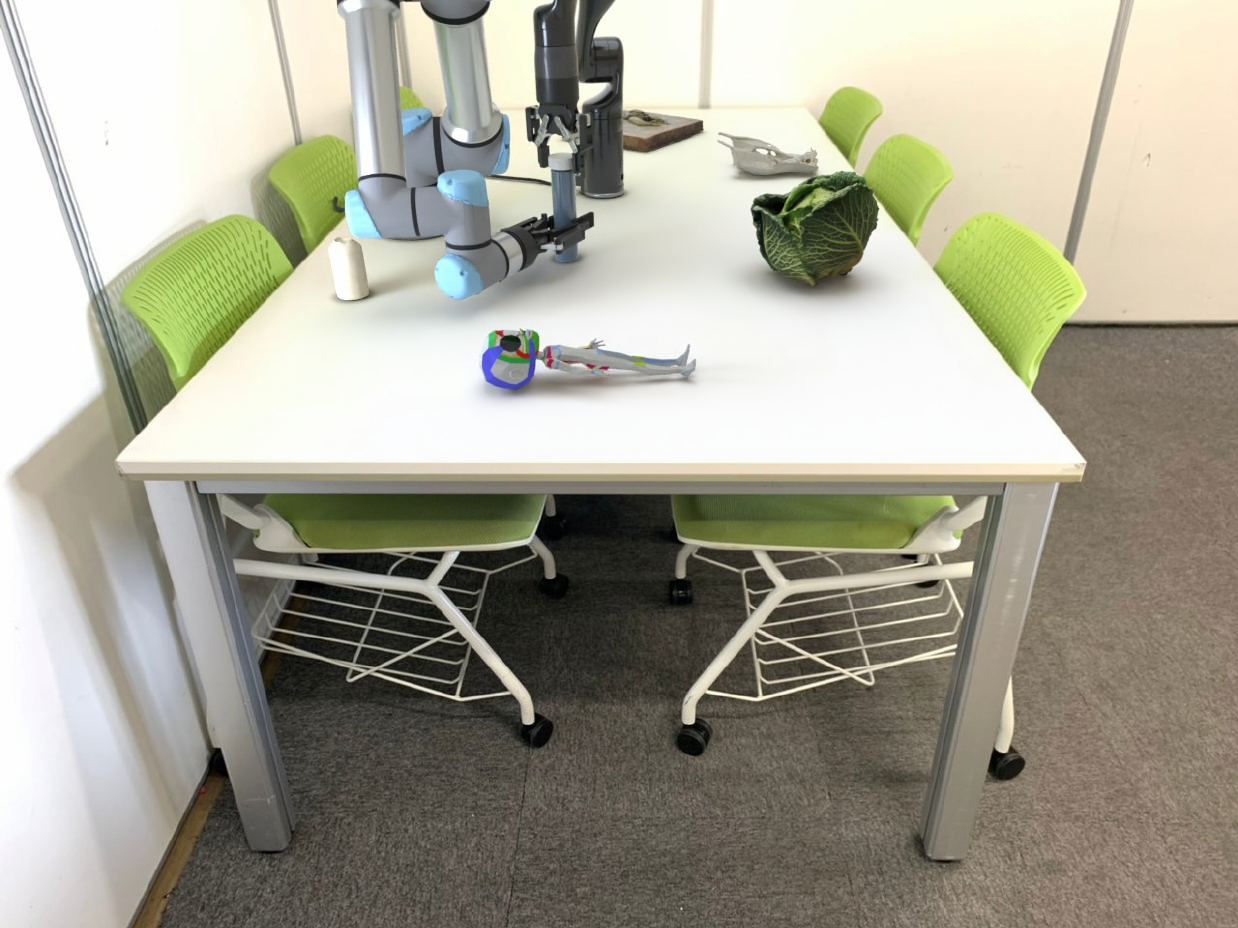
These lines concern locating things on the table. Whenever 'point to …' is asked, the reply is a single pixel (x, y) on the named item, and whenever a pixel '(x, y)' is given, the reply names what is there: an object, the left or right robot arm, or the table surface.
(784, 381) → the table surface
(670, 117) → the plaque
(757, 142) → the anatomical model
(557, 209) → the blue slim bottle
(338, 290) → the candle
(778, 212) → the vegetable
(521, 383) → the toy
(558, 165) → the lid
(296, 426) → the table surface
